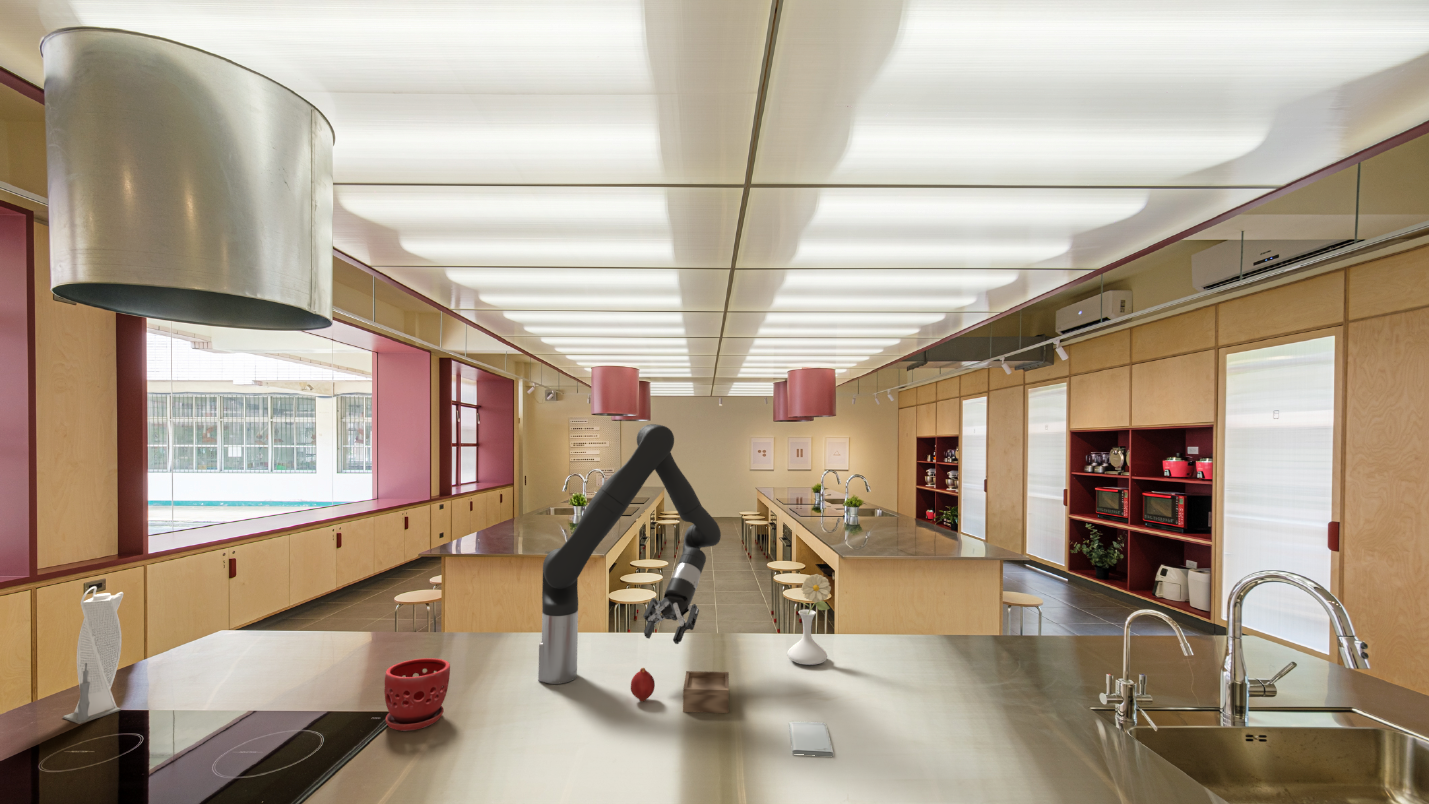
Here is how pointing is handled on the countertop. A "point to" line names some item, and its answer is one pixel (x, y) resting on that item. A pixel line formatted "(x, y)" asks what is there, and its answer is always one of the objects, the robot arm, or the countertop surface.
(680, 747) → the countertop surface
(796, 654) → the flower in vase
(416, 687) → the plant pot
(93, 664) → the skyscraper
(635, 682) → the onion
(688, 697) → the wooden tray
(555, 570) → the robot arm
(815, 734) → the hard drive
